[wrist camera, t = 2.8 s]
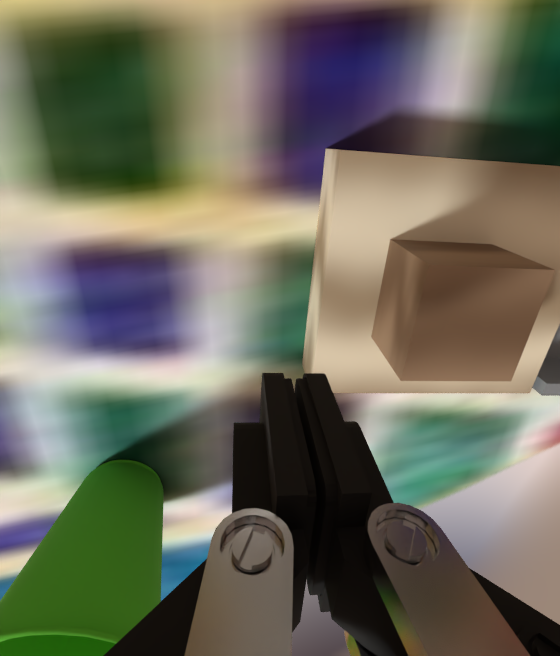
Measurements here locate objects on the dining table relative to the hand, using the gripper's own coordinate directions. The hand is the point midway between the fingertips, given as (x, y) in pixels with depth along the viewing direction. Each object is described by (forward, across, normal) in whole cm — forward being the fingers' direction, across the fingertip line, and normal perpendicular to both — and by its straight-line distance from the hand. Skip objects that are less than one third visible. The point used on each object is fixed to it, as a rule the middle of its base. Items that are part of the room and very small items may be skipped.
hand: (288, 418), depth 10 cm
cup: (+12, +9, +15) cm, 21 cm away
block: (+8, -8, -1) cm, 12 cm away
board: (+12, -9, -1) cm, 15 cm away
